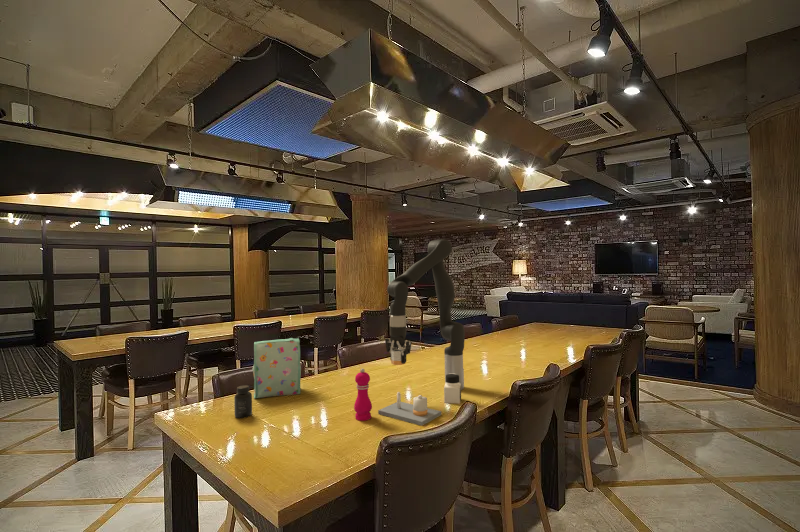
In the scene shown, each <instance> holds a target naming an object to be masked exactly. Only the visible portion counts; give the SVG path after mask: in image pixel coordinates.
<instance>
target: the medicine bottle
mask: <svg viewBox="0 0 800 532" xmlns="http://www.w3.org/2000/svg"><path fill="white" fill-rule="evenodd" d="M443 393H444V394H443V397H444V398H443V399H444V400H443V401H444V403H445V404H459V405H460V404H461V401H462V390H461V384H460V383H459V375H457V374H454V373H451V374H447V375H446V383H445V382H444V387H443Z"/></svg>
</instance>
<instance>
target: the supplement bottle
mask: <svg viewBox="0 0 800 532" xmlns="http://www.w3.org/2000/svg"><path fill="white" fill-rule="evenodd" d="M233 400H234V401H233V403H234V404H233V405H234V406H233V407H234V417H235V418H236V419H245V418H244V417H246V418H249V417H251V416H252V414H253V394H252V393H251V392H250V385H245V384H244V385H240V386H237V387H236V394H234V398H233ZM250 415H251V416H250ZM248 416H249V417H248Z"/></svg>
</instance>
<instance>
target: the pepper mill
mask: <svg viewBox="0 0 800 532" xmlns="http://www.w3.org/2000/svg"><path fill="white" fill-rule="evenodd" d="M370 380H371V376H370V374H369V373H368V372H366V371H365V368H363V367H362V368H361V369H360V372H358V373H357V374H356V375H355V378H354V382H355V383H356V385H355V386H356V389H357V396H356V398H355V402H354V405H353V410H354V411H355V415H354V417H355V419H356V420H357V421H361V422H364V421H368V420H370V419H371V418H372V413H371V411H372V410H373V406H372V401H371V399H370V396H369V388H370V385H369V382H370Z"/></svg>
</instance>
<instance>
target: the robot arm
mask: <svg viewBox="0 0 800 532" xmlns="http://www.w3.org/2000/svg"><path fill="white" fill-rule="evenodd" d="M452 250H453V247H452V244H451V242H450V241H449V240H448V239H443V238H442V239H441V238H440V239H434V240H431V241H429V243H428V244H427V255H426V256H425V257H423V258H422V259H420V260H418V261H417V262H414V264H412V265H411V266H409V268H408V269H406V271H404V272H403V273H402V274H401V275H399V276H397V277H395V278H394V279H393V280H391V281H390V282H389V284H388V285H387V288H386V290H387V291H386V292H387V294H388V295H389V296H391V297H393V298H394V300H393V302H391V303H390V304H389V305H390V307H389V336H390V338H389V337H388V338H385V339H384V340H385V348H386V349H385V350H386V352H388V353H389V354H390V355H389V356H390V357H389V358H390V359H389V360H391V350H394V349H399V350H400V351H401V354H402V364H403V365H405V364H406V363H407V355H409V354H411V349H412V340H407V338H406V336H407V318H406V305H407V301H408V298H409V297H408V296H409V287H410V286H413V285H414V284H416V283H417V282H418V281H419V280H420V279H421V278H422V277H423V276H424V275H426V273H427V272H429V271H430V270H432V275H433V281H434V288H435V295H436V299H437V306H438V313H439V328H440V329H439V330H440V334H441V337H442V338H443V339H444V340H448V341H450V344H449V346H447V347H445V348H444V350H443V351H444V352H443V353H444V384H445V383H446V375H447V374H451V373H454V374H457V375H459V383H460V384H461V391H463V390H464V389H465V372H464V371H465V369H464V349H465V337H466V335H465V333H466V332H465V327H464V325H463V324H462V323H460V322H456V321H453V320H452V307H453V305H454V302H455V299H456V291H455V287H454V282H453V280H452V278H451V276H450V274H449V273H448V271H447V269H446V268H445V264H444V260H445V259H446V258H447V257H449V256H451V253H452V252H453V251H452ZM404 363H405V364H404Z"/></svg>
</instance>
